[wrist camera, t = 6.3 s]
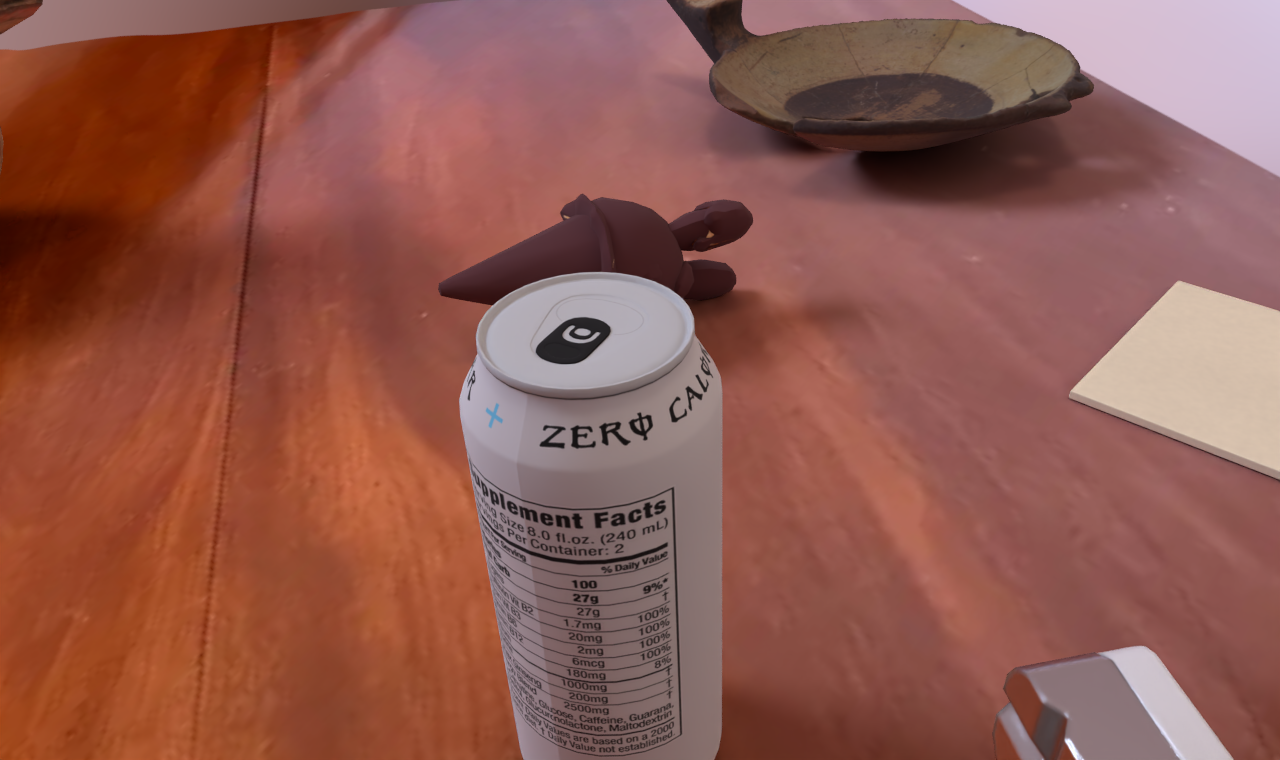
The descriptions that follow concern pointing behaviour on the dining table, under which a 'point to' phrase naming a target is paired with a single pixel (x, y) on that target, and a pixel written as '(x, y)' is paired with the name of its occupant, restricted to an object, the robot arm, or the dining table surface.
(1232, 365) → the beige rectangular board
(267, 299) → the dining table surface
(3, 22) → the ceramic vessel
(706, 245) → the maroon pointed figurine
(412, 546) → the dining table surface
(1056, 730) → the robot arm
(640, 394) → the energy drink can
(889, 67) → the olive ceramic shallow bowl
